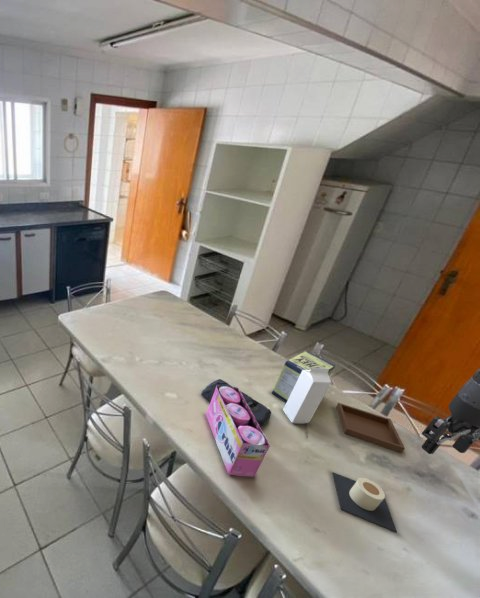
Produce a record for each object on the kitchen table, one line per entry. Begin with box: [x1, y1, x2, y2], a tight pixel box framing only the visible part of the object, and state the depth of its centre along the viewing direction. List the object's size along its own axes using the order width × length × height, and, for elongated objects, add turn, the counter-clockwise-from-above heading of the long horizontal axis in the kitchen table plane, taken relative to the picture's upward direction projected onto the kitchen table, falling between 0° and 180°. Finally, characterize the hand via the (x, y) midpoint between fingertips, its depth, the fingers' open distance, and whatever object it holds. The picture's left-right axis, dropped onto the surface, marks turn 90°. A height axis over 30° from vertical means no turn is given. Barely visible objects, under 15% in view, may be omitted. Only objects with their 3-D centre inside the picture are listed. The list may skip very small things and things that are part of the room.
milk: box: [282, 368, 332, 425], centre depth 111 cm, size 6×6×22 cm
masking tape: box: [349, 477, 386, 511], centre depth 89 cm, size 6×6×5 cm
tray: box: [335, 402, 406, 454], centre depth 113 cm, size 16×14×3 cm
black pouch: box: [200, 378, 272, 427], centre depth 119 cm, size 15×22×5 cm
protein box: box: [271, 350, 336, 404], centre depth 123 cm, size 10×16×16 cm
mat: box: [331, 472, 398, 533], centre depth 90 cm, size 12×12×1 cm
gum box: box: [205, 385, 271, 478], centre depth 102 cm, size 24×8×14 cm, turn 178°
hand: (442, 450), depth 80 cm, fingers open, 8 cm apart
